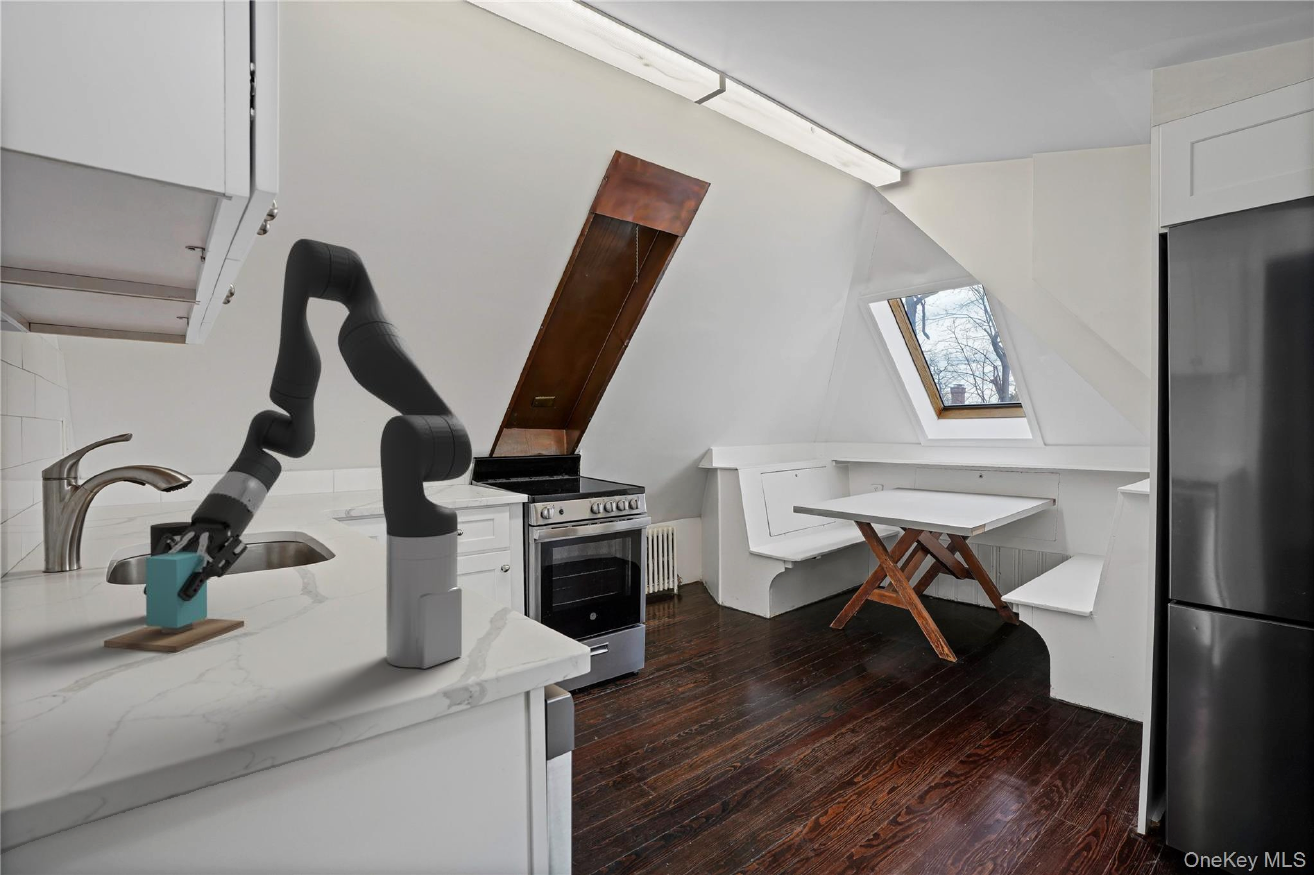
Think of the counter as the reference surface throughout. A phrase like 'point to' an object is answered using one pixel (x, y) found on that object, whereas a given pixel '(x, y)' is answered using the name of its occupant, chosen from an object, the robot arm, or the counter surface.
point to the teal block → (172, 590)
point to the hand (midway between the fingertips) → (166, 596)
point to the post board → (174, 635)
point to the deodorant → (166, 532)
